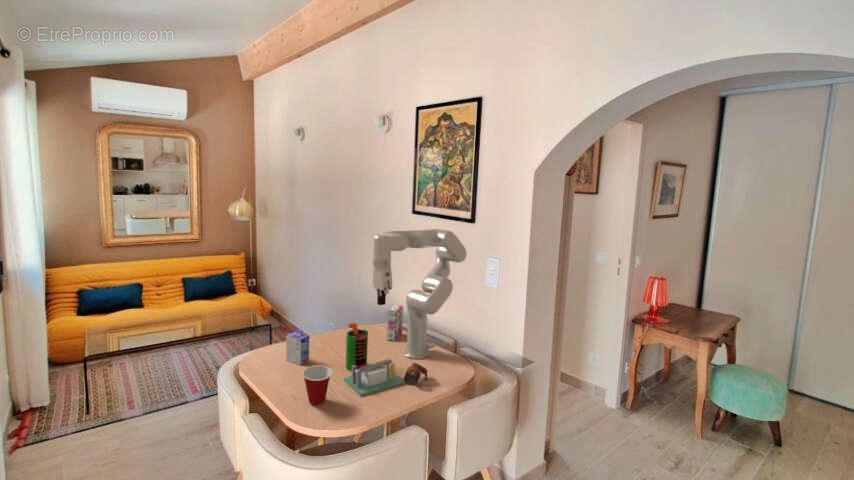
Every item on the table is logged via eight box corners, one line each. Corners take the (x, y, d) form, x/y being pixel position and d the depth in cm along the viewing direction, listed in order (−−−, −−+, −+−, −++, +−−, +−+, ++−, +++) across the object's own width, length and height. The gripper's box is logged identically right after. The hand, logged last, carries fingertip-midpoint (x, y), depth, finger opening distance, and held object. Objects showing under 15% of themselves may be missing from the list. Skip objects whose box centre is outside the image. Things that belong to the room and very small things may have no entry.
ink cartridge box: (310, 361, 195) (310, 331, 193) (300, 365, 190) (300, 334, 188) (295, 356, 200) (294, 326, 198) (285, 360, 195) (285, 329, 193)
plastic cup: (313, 412, 153) (313, 381, 151) (296, 401, 160) (296, 371, 158) (338, 401, 161) (338, 371, 159) (320, 391, 168) (320, 362, 166)
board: (385, 369, 189) (385, 352, 188) (404, 383, 176) (404, 365, 175) (343, 380, 178) (343, 361, 177) (360, 396, 165) (360, 377, 164)
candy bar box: (395, 341, 221) (396, 311, 219) (386, 340, 223) (387, 310, 220) (402, 334, 232) (403, 305, 230) (394, 333, 233) (394, 304, 231)
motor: (361, 372, 185) (362, 328, 182) (342, 370, 187) (342, 326, 184) (369, 363, 195) (369, 321, 192) (350, 360, 197) (351, 319, 194)
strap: (389, 360, 182) (389, 358, 182) (392, 362, 180) (392, 360, 179) (353, 371, 173) (353, 369, 172) (356, 374, 170) (356, 372, 170)
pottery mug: (401, 377, 183) (409, 359, 184) (420, 387, 184) (429, 369, 185) (403, 383, 171) (412, 364, 173) (423, 394, 172) (433, 375, 173)
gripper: (398, 265, 181) (397, 307, 183) (381, 259, 193) (380, 299, 195) (382, 267, 176) (382, 310, 179) (366, 261, 188) (365, 301, 191)
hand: (381, 304), depth 187 cm, fingers closed
